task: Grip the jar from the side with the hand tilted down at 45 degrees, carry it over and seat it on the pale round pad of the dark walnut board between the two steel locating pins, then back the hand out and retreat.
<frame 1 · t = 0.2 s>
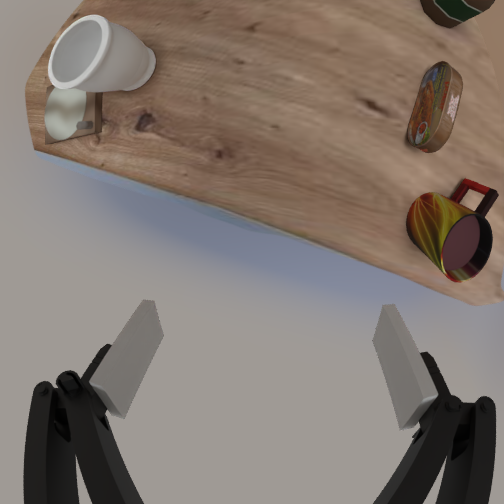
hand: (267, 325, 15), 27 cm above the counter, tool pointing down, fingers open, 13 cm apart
beer bottle: (437, 11, 22), on the counter
tin: (422, 107, 31), on the counter
jar: (134, 68, 33), on the counter
mug: (433, 208, 36), on the counter
seat board: (74, 107, 36), on the counter
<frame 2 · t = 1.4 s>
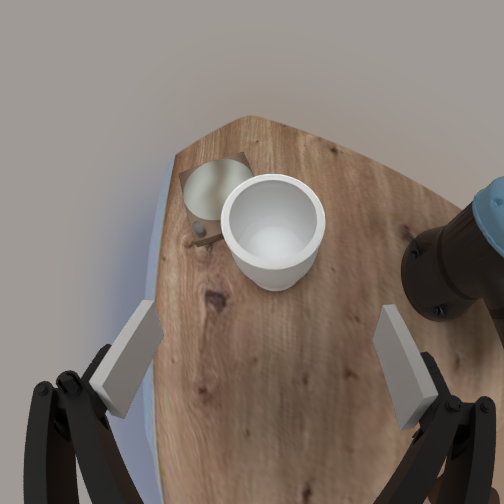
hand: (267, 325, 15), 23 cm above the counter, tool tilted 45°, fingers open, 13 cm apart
beer bottle: (443, 485, 23), on the counter
jar: (275, 263, 40), on the counter
seat board: (222, 199, 45), on the counter
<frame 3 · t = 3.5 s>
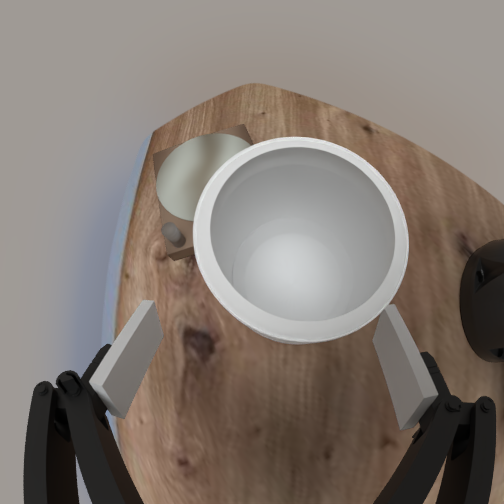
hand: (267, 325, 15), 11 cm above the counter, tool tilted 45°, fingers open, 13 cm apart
jar: (290, 289, 26), on the counter
seat board: (212, 189, 30), on the counter
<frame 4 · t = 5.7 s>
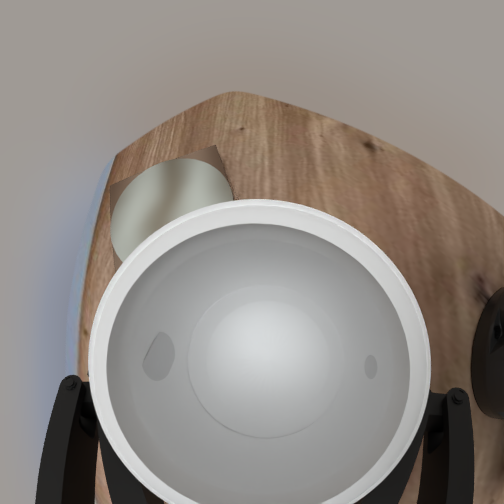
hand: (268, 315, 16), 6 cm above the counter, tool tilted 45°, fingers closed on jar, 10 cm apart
jar: (268, 359, 20), on the counter, touching gripper
seat board: (176, 230, 25), on the counter
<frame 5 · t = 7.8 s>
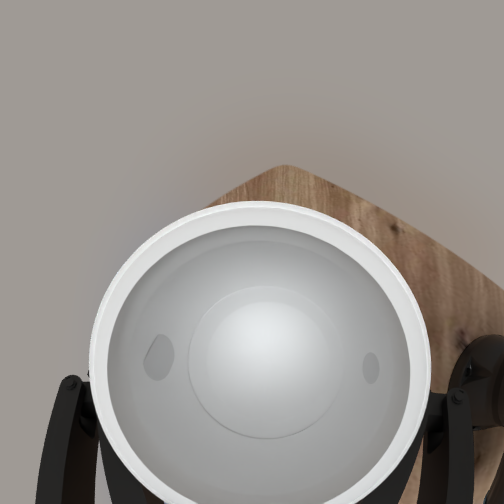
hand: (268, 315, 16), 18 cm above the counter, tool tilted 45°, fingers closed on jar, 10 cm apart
jar: (268, 360, 20), point 12 cm above the counter, touching gripper
when the fingers open (10 cm above the counter, at t = 10.4 s): jar drops 1 cm, resting on seat board.
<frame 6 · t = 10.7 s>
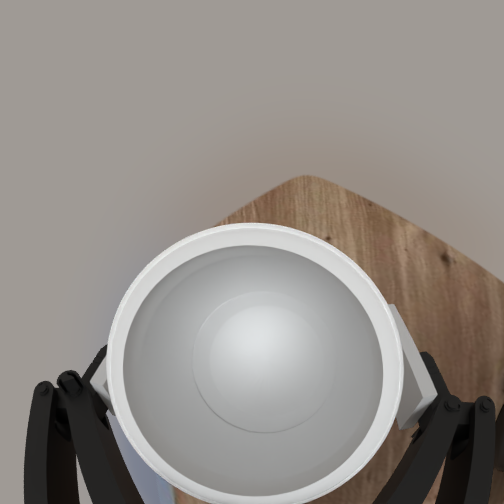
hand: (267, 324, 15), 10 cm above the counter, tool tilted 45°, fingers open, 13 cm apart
jar: (267, 360, 22), point 2 cm above the counter, touching seat board
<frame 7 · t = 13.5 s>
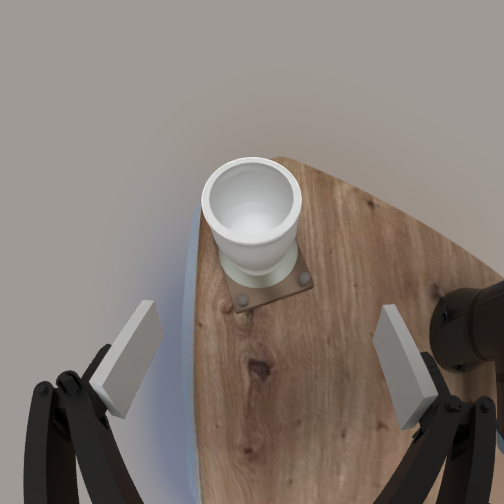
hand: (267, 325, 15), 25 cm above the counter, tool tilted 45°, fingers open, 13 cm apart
jar: (257, 249, 41), point 2 cm above the counter, touching seat board
seat board: (260, 259, 43), on the counter
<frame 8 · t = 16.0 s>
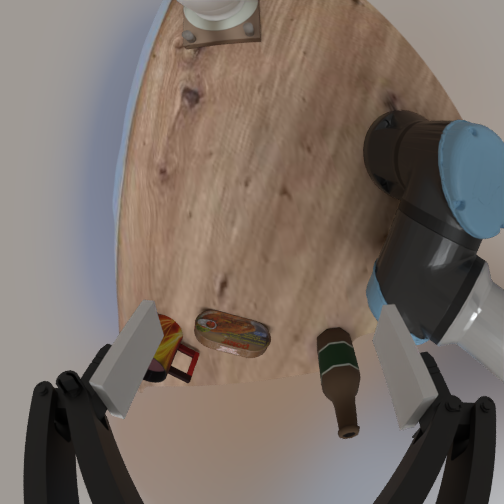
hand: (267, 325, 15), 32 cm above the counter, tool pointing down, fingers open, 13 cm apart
beer bottle: (332, 339, 55), on the counter
tin: (235, 320, 55), on the counter
jar: (219, 2, 28), point 2 cm above the counter, touching seat board
mug: (171, 331, 59), on the counter
seat board: (222, 11, 30), on the counter
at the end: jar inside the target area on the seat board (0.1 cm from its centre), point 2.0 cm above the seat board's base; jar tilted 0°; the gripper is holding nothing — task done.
